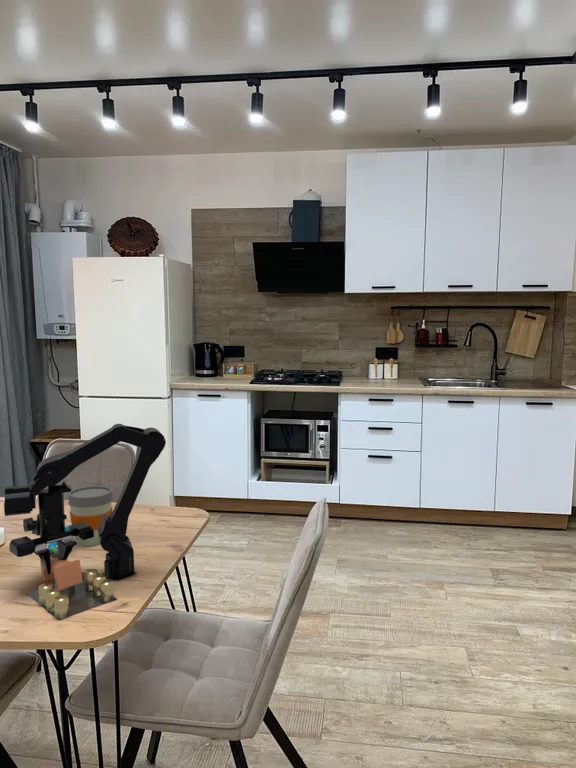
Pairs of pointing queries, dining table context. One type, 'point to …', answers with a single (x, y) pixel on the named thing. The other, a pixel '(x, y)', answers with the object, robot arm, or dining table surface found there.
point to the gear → (55, 544)
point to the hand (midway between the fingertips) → (54, 572)
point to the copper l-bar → (63, 573)
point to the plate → (75, 596)
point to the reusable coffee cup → (90, 509)
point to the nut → (65, 589)
